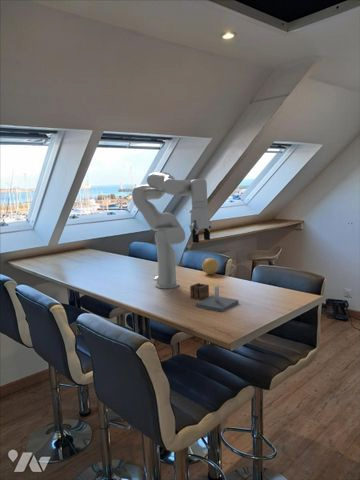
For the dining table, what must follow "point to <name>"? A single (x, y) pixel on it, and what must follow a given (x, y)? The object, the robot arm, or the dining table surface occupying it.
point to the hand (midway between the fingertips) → (201, 241)
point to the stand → (216, 302)
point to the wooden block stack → (199, 291)
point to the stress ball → (210, 266)
